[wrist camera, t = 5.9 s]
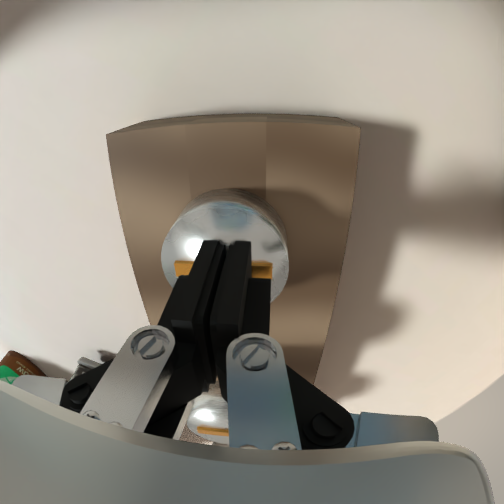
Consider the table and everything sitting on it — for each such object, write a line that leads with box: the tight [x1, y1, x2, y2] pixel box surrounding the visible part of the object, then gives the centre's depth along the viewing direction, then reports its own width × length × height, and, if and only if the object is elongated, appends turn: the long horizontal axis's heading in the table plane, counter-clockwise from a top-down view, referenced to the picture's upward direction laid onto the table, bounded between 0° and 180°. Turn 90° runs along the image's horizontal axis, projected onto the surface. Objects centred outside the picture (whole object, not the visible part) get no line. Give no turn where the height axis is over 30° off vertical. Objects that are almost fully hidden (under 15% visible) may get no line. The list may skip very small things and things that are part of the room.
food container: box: [0, 351, 47, 385], centre depth 26 cm, size 12×6×10 cm, turn 50°
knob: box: [161, 188, 289, 302], centre depth 13 cm, size 5×5×6 cm
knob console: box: [106, 114, 361, 436], centre depth 19 cm, size 28×10×4 cm, turn 1°
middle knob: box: [187, 381, 229, 444], centre depth 15 cm, size 5×5×6 cm
